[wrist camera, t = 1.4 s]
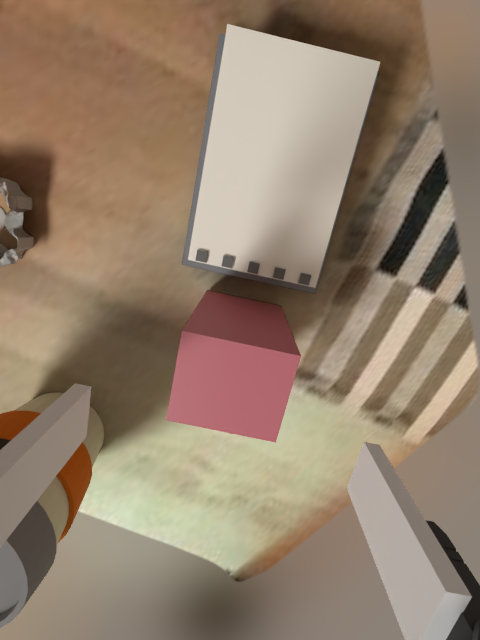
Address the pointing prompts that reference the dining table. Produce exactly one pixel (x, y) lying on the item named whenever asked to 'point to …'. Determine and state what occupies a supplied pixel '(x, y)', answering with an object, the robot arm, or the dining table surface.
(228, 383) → the pink block
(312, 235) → the white notepad
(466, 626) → the robot arm
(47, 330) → the dining table surface
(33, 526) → the reusable coffee cup
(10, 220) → the egg carton
